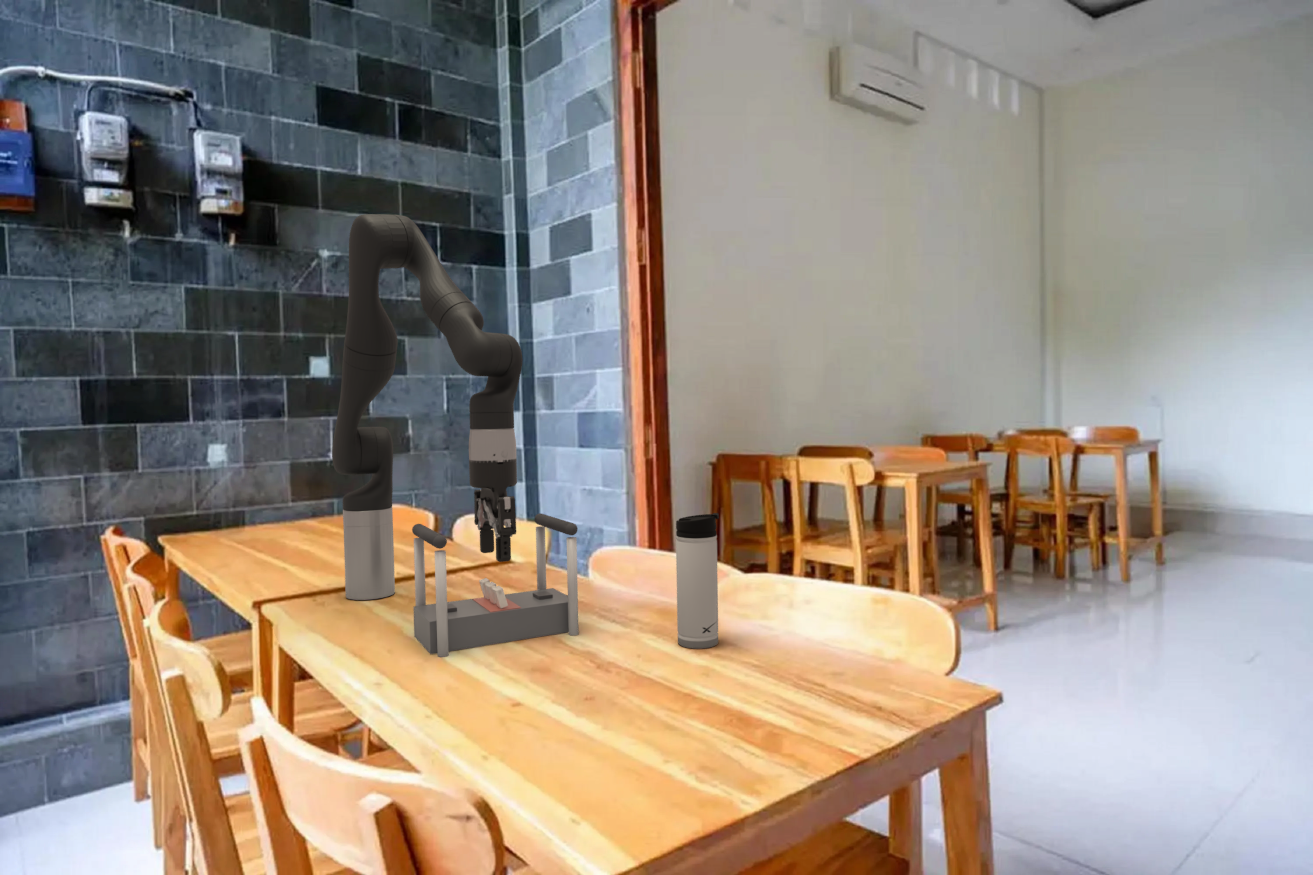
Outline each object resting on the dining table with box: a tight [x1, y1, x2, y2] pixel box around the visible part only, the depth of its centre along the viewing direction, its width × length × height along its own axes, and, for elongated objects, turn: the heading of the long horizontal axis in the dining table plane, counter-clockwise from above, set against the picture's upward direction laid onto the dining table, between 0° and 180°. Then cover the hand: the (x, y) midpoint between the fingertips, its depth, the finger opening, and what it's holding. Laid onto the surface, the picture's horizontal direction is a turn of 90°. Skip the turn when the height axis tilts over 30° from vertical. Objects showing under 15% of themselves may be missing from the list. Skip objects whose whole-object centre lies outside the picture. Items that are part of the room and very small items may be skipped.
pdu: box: [412, 525, 580, 658], centre depth 132 cm, size 16×24×16 cm, turn 119°
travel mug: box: [675, 512, 720, 650], centre depth 125 cm, size 6×7×20 cm
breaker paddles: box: [478, 577, 508, 608], centre depth 132 cm, size 9×1×3 cm, turn 29°
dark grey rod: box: [534, 513, 578, 536], centre depth 137 cm, size 16×2×2 cm, turn 29°
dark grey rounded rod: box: [411, 523, 448, 550], centre depth 127 cm, size 16×2×2 cm, turn 29°
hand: (495, 556), depth 132 cm, fingers open, 8 cm apart
